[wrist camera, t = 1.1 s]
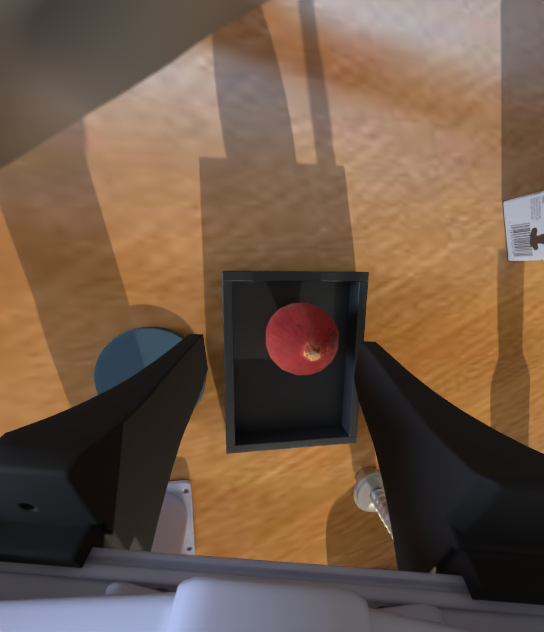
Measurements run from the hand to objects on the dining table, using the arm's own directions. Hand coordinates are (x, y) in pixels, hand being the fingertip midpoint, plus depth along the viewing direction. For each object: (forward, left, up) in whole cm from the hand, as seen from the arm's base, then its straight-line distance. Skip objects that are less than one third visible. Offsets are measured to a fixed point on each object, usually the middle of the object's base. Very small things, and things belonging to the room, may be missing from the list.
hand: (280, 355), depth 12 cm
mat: (-6, +10, -13) cm, 17 cm away
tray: (-5, -3, -13) cm, 14 cm away
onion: (-2, -3, -13) cm, 13 cm away
